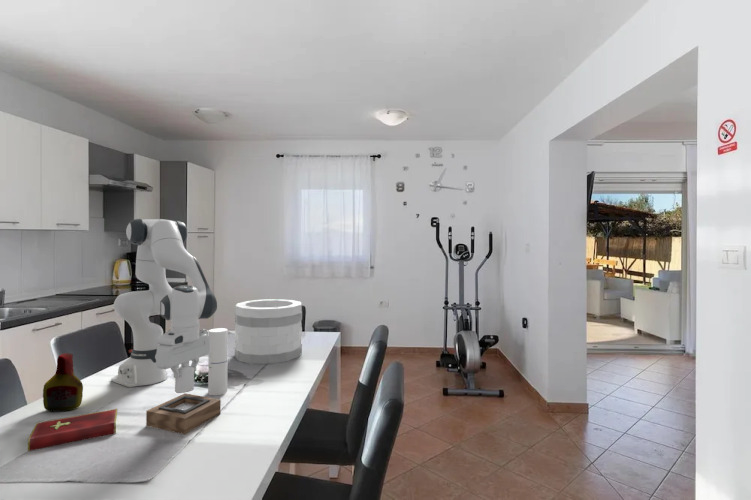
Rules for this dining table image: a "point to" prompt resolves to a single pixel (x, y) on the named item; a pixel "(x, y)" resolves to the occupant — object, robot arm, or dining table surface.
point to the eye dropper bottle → (185, 379)
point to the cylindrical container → (218, 361)
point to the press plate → (184, 406)
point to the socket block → (183, 413)
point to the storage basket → (268, 331)
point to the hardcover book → (72, 429)
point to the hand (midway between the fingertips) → (185, 374)
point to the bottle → (63, 387)
